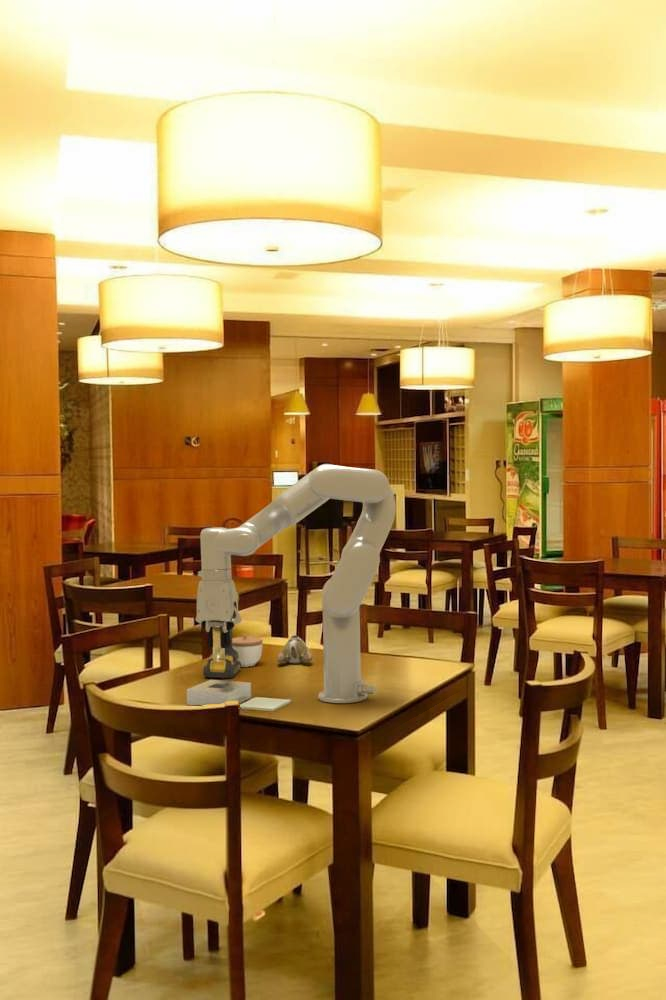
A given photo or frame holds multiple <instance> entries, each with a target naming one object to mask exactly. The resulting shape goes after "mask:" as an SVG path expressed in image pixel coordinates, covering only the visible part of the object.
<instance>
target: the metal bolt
mask: <svg viewBox="0 0 666 1000" xmlns="http://www.w3.org/2000/svg"><path fill="white" fill-rule="evenodd" d="M227 625H228V622H227ZM208 626H209V627H212V642H213V647H212V653H213V661H215V662H220V661H225V648H222V647H221V633H222V632H223V628H222V627H223V626H224V622H222V621H208Z"/></svg>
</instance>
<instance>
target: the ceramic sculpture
mask: <svg viewBox="0 0 666 1000" xmlns="http://www.w3.org/2000/svg"><path fill="white" fill-rule="evenodd" d="M282 649H283V650H282V652H279V653H278V654H277V657H276V659H277V662H278V663H279V664H286V663H289V664H294V665H295V664H300V663H304V664H307V663H310V662H311V661H312V659H313V654H312V652H311V651H308V646H307V645H306V643H305V641H304V640H303V639H302V638H300V637H299V636H298V635H292V636H291V637H290V638H289V639H288V641H287V642H286V643H285V645H283V648H282Z"/></svg>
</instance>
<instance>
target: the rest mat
mask: <svg viewBox="0 0 666 1000" xmlns="http://www.w3.org/2000/svg"><path fill="white" fill-rule="evenodd" d="M291 703H292V700H291V699H284V698H283V699H282V698H272V697H270V698H269V697H262V696H261V697H258V696H255V697H253V698H250V699H248V700H246V701H244V702H242V703H239V705H240V707H241V709H242V710H252V711H253V710H254V711H264V712H265V711H267V712H275V711H277V710H278V709H281V708H283V707H285V706H286V705H288V704H291Z"/></svg>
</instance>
